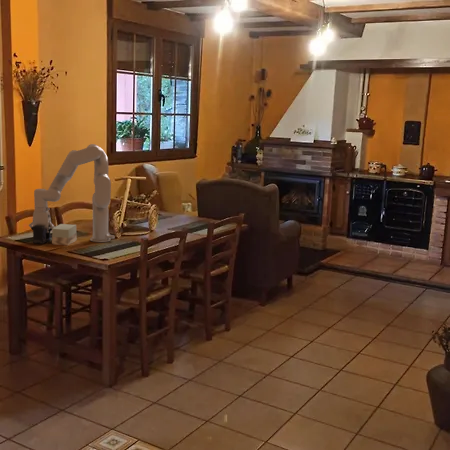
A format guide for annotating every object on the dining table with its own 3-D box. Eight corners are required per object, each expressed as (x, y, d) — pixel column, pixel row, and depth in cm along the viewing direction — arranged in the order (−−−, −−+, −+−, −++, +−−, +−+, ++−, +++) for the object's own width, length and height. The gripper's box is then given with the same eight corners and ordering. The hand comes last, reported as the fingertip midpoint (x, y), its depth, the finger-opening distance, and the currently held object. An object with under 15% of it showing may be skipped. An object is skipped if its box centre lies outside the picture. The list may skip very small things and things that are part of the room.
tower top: (76, 232, 368) (76, 224, 367) (68, 237, 355) (68, 229, 354) (60, 231, 369) (60, 223, 368) (52, 236, 355) (52, 228, 354)
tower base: (76, 240, 369) (76, 232, 368) (68, 246, 356) (68, 237, 355) (61, 239, 370) (61, 231, 369) (52, 244, 357) (52, 236, 356)
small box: (42, 244, 355) (42, 227, 353) (32, 243, 356) (32, 226, 354) (51, 240, 365) (50, 223, 363) (41, 239, 366) (41, 222, 364)
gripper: (57, 209, 359) (58, 237, 363) (30, 207, 361) (31, 236, 365) (52, 211, 352) (53, 240, 356) (24, 209, 354) (25, 238, 357)
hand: (42, 238), depth 360 cm, fingers closed on small box, 6 cm apart
